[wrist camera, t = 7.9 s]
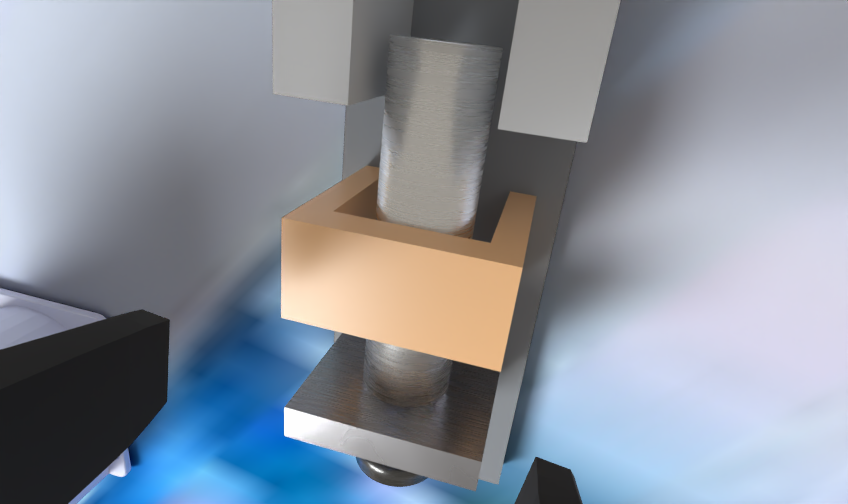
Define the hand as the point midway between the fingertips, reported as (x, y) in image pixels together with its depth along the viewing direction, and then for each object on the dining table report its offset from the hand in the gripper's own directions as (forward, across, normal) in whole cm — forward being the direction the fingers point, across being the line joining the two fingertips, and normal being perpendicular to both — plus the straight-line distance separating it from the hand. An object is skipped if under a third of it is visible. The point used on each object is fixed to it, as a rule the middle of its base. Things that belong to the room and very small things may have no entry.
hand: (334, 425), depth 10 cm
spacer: (+8, 0, -1) cm, 9 cm away
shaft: (+8, 0, 0) cm, 8 cm away
